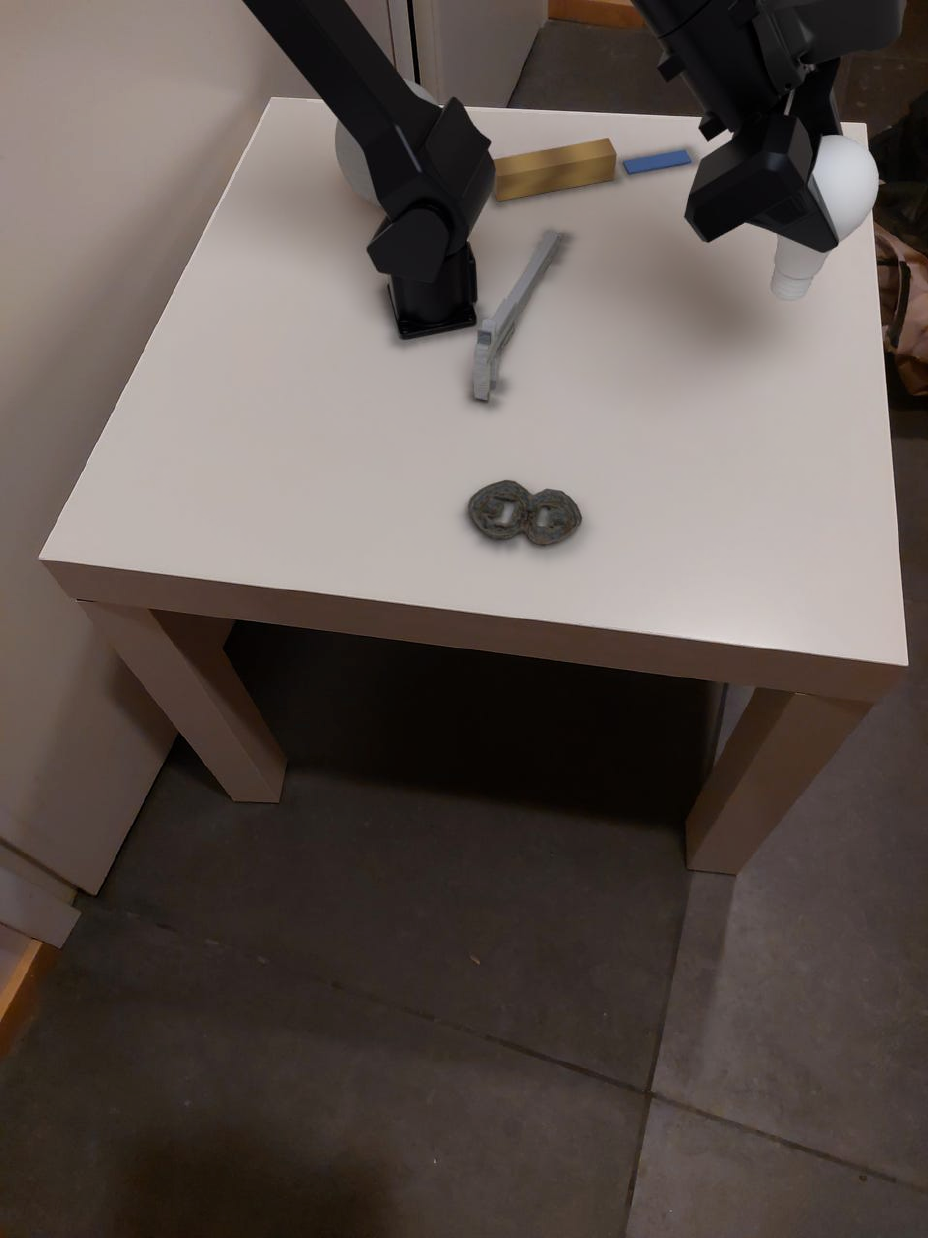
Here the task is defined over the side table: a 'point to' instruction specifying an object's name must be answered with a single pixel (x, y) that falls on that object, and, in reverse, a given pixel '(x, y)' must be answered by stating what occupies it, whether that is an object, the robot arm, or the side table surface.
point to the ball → (354, 158)
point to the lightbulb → (849, 201)
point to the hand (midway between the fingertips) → (838, 215)
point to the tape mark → (657, 161)
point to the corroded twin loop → (524, 512)
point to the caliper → (508, 318)
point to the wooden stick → (554, 169)
